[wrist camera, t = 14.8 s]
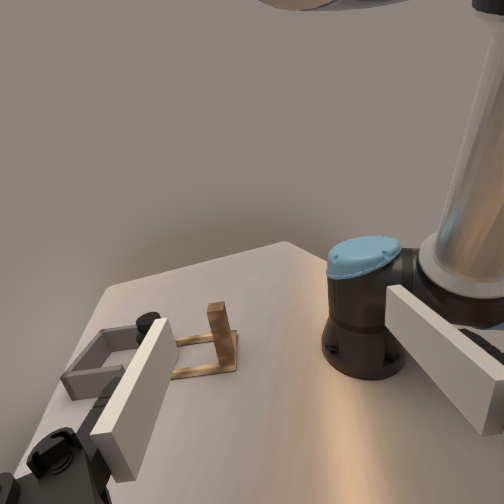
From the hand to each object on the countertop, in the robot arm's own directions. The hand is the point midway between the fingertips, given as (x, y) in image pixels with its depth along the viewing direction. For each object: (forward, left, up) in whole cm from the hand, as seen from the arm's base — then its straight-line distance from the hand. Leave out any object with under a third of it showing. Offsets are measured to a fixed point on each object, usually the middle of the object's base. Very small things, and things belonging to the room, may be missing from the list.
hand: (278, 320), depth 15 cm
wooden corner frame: (-22, -30, -30) cm, 48 cm away
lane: (-15, -45, -30) cm, 56 cm away
